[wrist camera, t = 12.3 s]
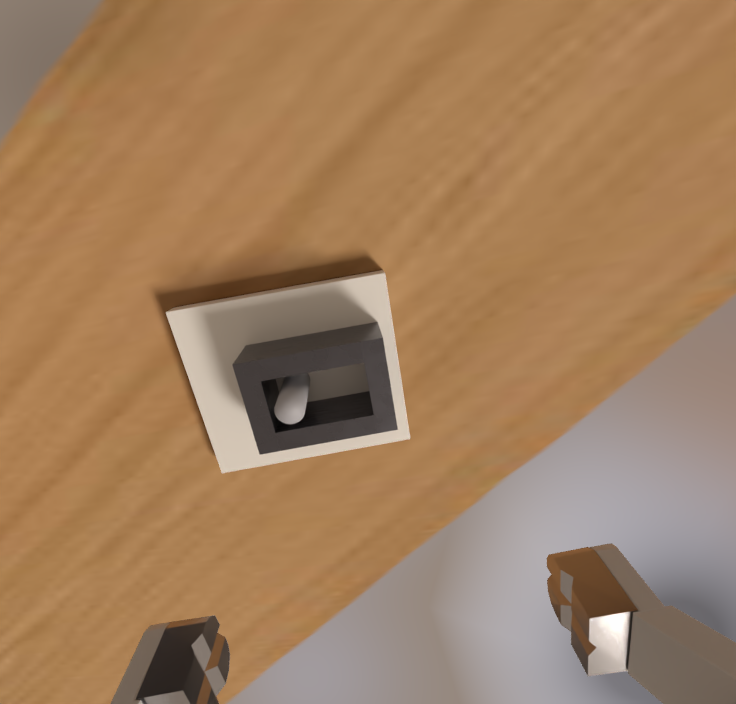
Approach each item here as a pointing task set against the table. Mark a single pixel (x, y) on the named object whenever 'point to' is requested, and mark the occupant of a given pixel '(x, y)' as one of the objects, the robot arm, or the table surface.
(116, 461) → the table surface
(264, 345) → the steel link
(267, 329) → the keeper plate
